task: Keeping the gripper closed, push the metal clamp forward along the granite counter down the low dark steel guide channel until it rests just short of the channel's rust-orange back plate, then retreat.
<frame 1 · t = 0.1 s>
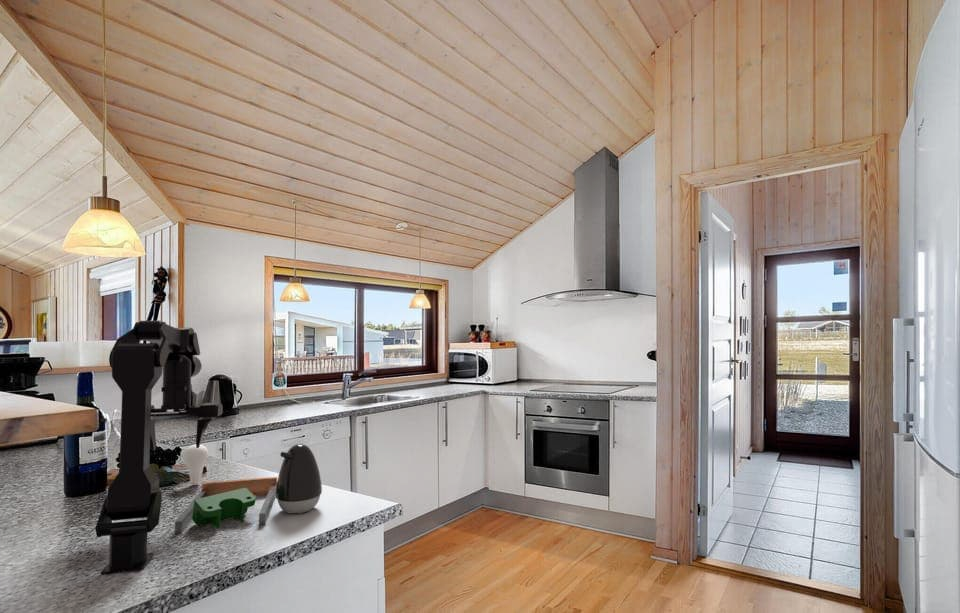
hand: (176, 449, 123), 15 cm above the worktop, tool pointing down, fingers open, 9 cm apart
clamp: (225, 523, 116), on the worktop
lightbulb: (195, 486, 144), on the worktop
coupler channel: (231, 510, 124), on the worktop
pump dispenser: (298, 511, 124), on the worktop
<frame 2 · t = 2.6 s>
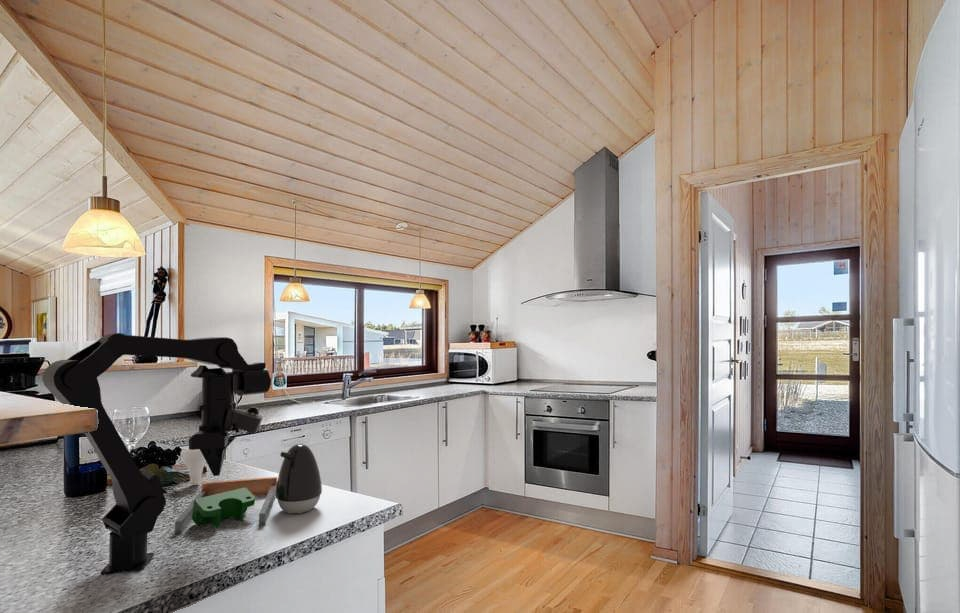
hand: (216, 475, 108), 13 cm above the worktop, tool pointing down, fingers closed
nothing on the worktop moved.
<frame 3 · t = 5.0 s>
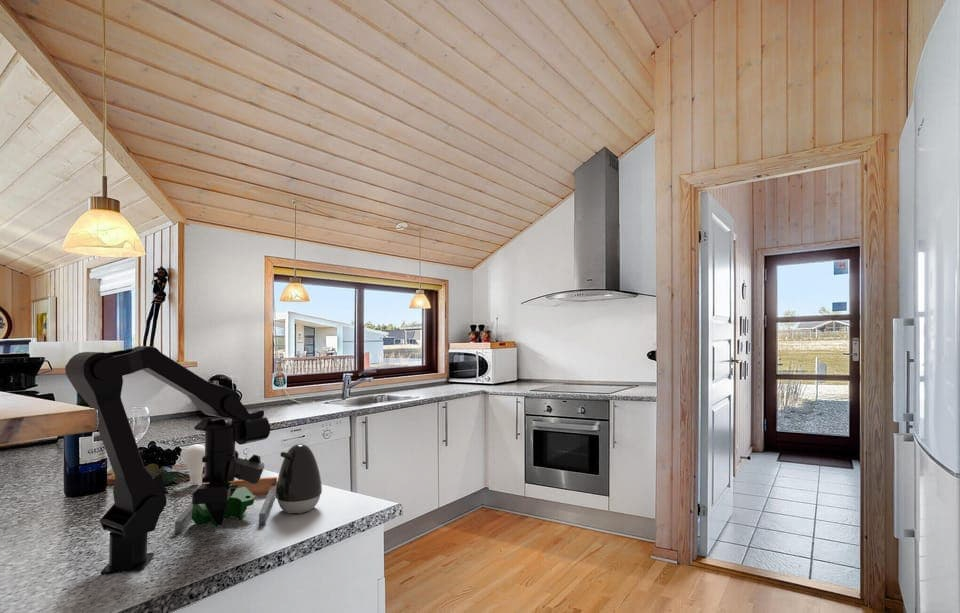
hand: (219, 524, 110), 2 cm above the worktop, tool pointing down, fingers closed
clamp: (224, 522, 117), on the worktop, touching gripper
everything else where it was.
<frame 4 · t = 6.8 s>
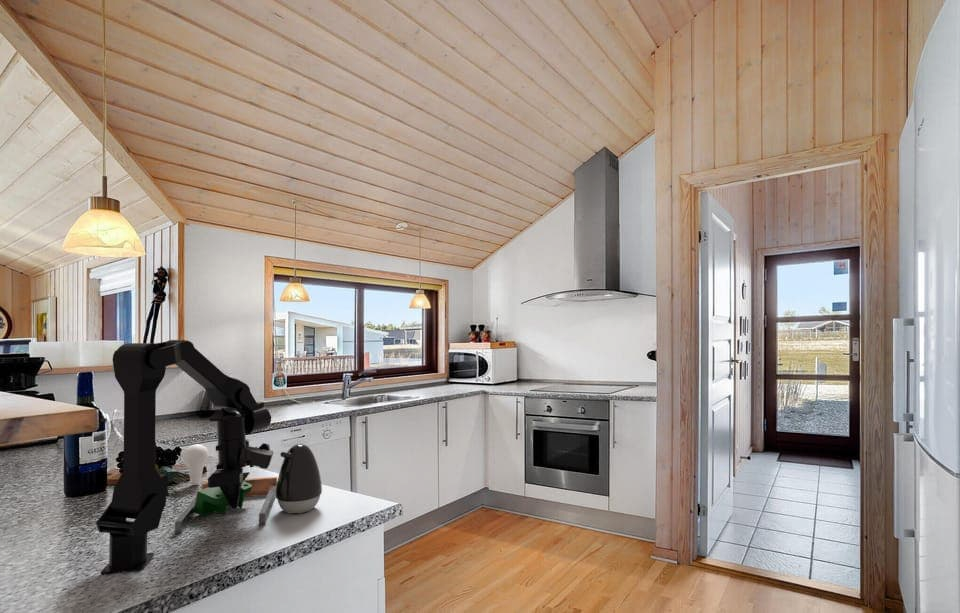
hand: (234, 508, 119), 2 cm above the worktop, tool pointing down, fingers closed
clamp: (224, 511, 124), on the worktop, touching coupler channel, gripper
everything else where it was.
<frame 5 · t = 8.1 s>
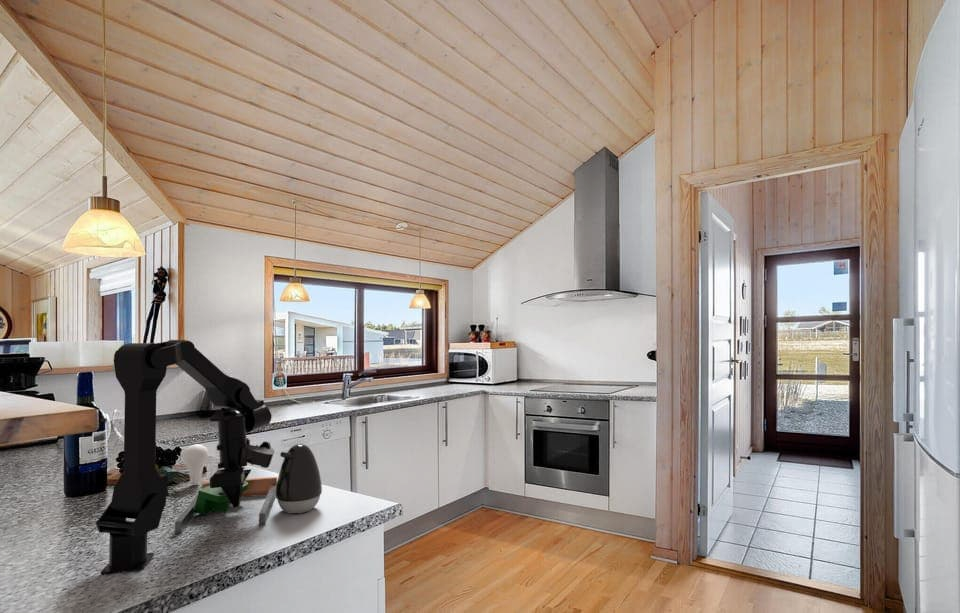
hand: (236, 506, 121), 2 cm above the worktop, tool pointing down, fingers closed
clamp: (223, 509, 125), on the worktop, touching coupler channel, gripper
everything else where it was.
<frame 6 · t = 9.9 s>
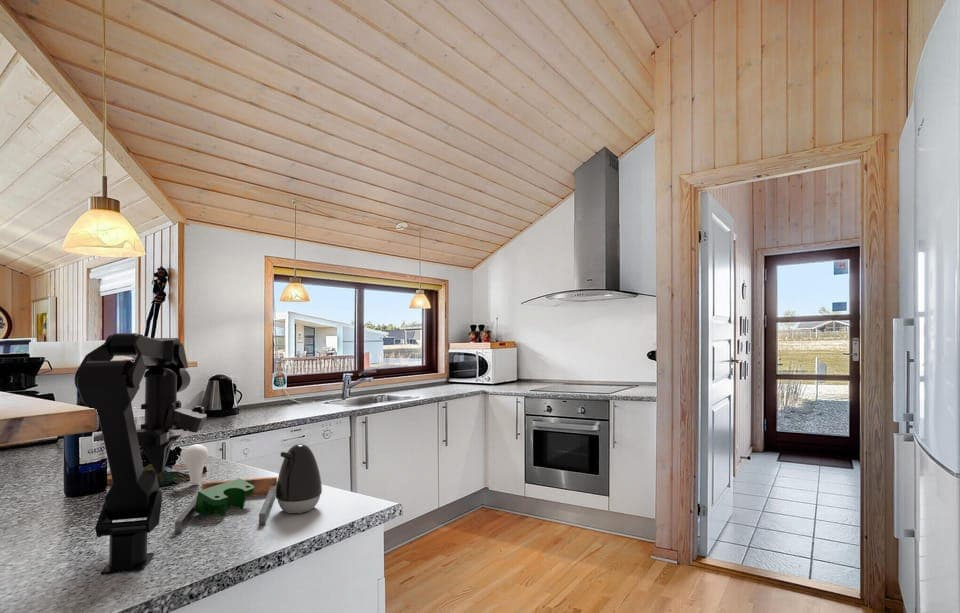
hand: (159, 472, 111), 12 cm above the worktop, tool pointing down, fingers closed
clamp: (226, 512, 124), on the worktop
everything else where it was.
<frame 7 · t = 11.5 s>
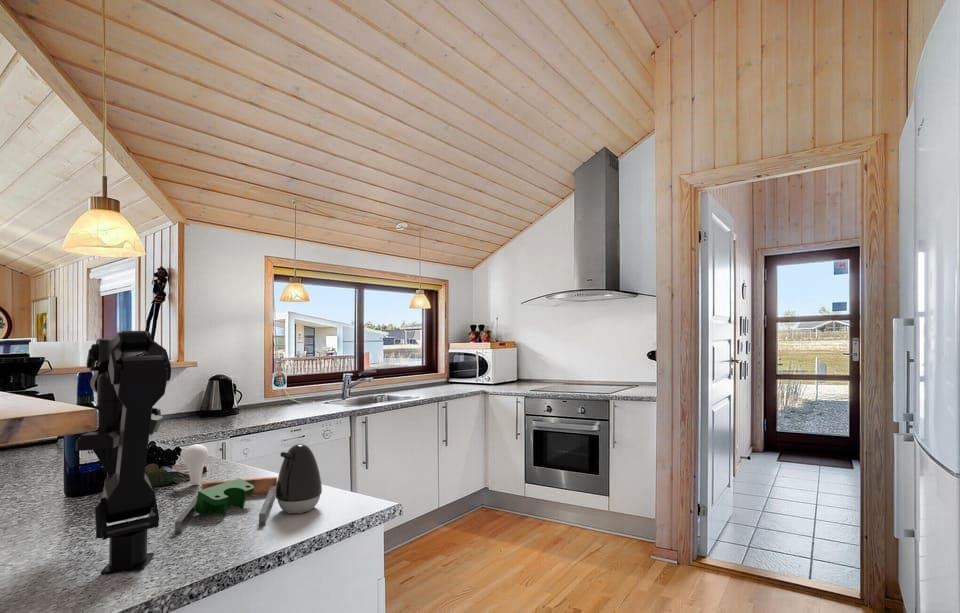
hand: (112, 476, 108), 12 cm above the worktop, tool pointing down, fingers closed
nothing on the worktop moved.
at the end: clamp inside the target area (4.7 cm from its centre), on the worktop; clamp moved 8.4 cm from its start; clamp tilted 0° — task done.
